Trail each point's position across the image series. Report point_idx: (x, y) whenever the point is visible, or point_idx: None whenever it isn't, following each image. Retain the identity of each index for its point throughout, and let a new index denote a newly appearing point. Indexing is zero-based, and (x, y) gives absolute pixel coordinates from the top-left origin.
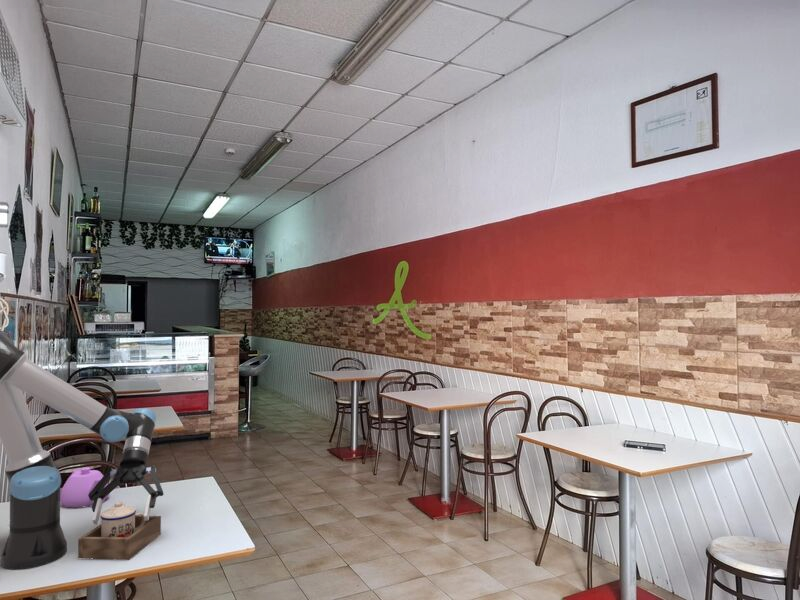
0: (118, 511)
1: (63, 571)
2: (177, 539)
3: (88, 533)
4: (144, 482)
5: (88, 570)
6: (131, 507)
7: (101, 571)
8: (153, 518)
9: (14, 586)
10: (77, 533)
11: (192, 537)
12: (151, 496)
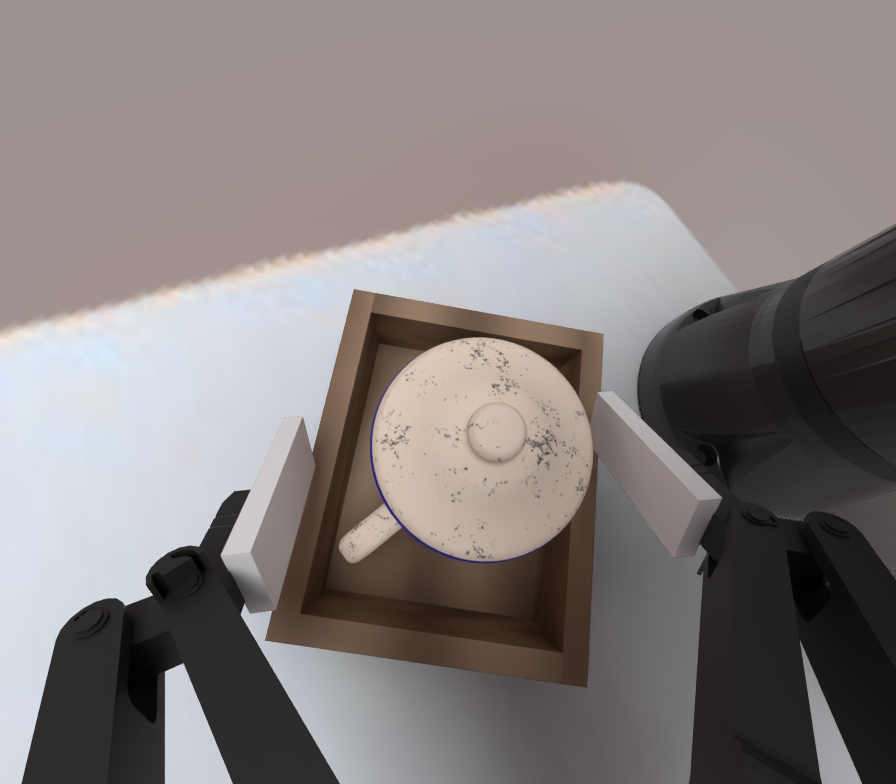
0: (463, 374)
1: (561, 276)
2: (203, 520)
3: (589, 390)
4: (277, 751)
5: (480, 270)
6: (409, 489)
7: (432, 256)
8: (312, 614)
9: (648, 205)
10: None
11: (128, 539)
12: (227, 565)
